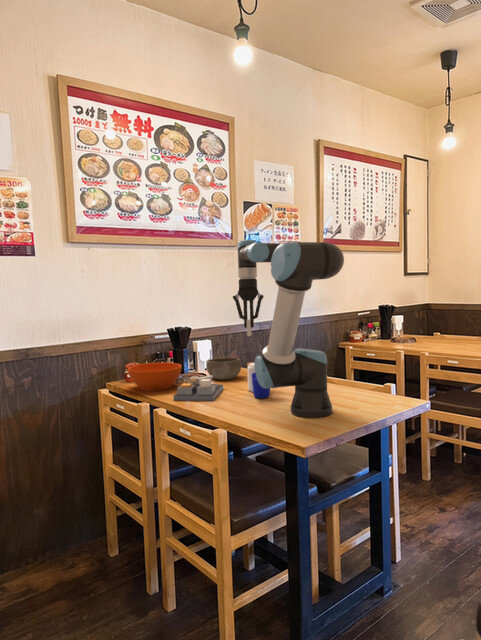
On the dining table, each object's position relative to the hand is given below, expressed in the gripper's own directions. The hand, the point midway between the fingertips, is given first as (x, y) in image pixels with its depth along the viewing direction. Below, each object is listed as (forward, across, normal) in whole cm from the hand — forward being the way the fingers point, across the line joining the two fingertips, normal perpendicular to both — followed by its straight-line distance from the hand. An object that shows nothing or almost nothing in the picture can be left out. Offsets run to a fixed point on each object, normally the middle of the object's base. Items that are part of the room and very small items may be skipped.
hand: (249, 335), depth 190 cm
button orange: (+24, +28, 0) cm, 37 cm away
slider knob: (+24, +26, -8) cm, 36 cm away
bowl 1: (+27, +48, -19) cm, 58 cm away
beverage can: (+27, -1, -14) cm, 30 cm away
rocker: (+21, +24, -14) cm, 34 cm away
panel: (+26, +24, -6) cm, 36 cm away
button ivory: (+22, +19, 0) cm, 29 cm away
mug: (+27, -4, 0) cm, 27 cm away
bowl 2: (+27, +19, -41) cm, 52 cm away
